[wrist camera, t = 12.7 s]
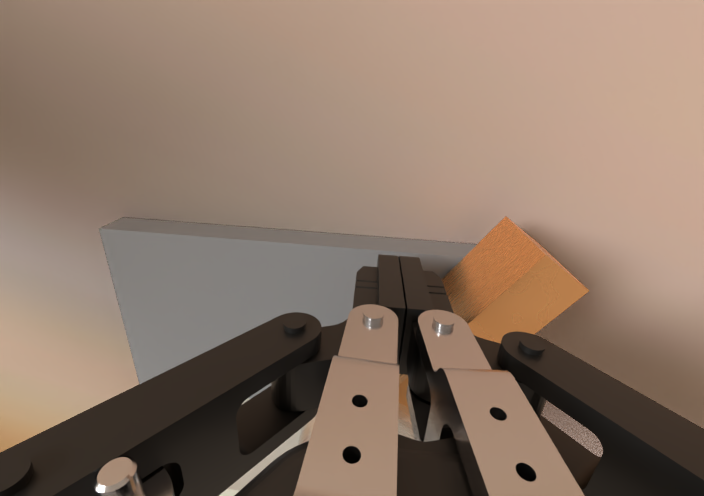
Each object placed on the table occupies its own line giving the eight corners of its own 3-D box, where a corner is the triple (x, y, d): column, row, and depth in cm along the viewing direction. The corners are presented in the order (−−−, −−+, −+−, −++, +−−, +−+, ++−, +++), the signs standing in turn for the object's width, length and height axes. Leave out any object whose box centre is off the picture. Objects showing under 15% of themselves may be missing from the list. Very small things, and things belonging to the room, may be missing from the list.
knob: (376, 428, 18) (373, 597, 12) (297, 379, 17) (249, 534, 11) (568, 267, 14) (717, 404, 8) (474, 190, 13) (557, 274, 7)
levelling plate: (122, 217, 16) (-97, 318, 9) (493, 245, 15) (597, 385, 8) (192, 523, 26) (116, 694, 18) (422, 552, 25) (439, 744, 17)
